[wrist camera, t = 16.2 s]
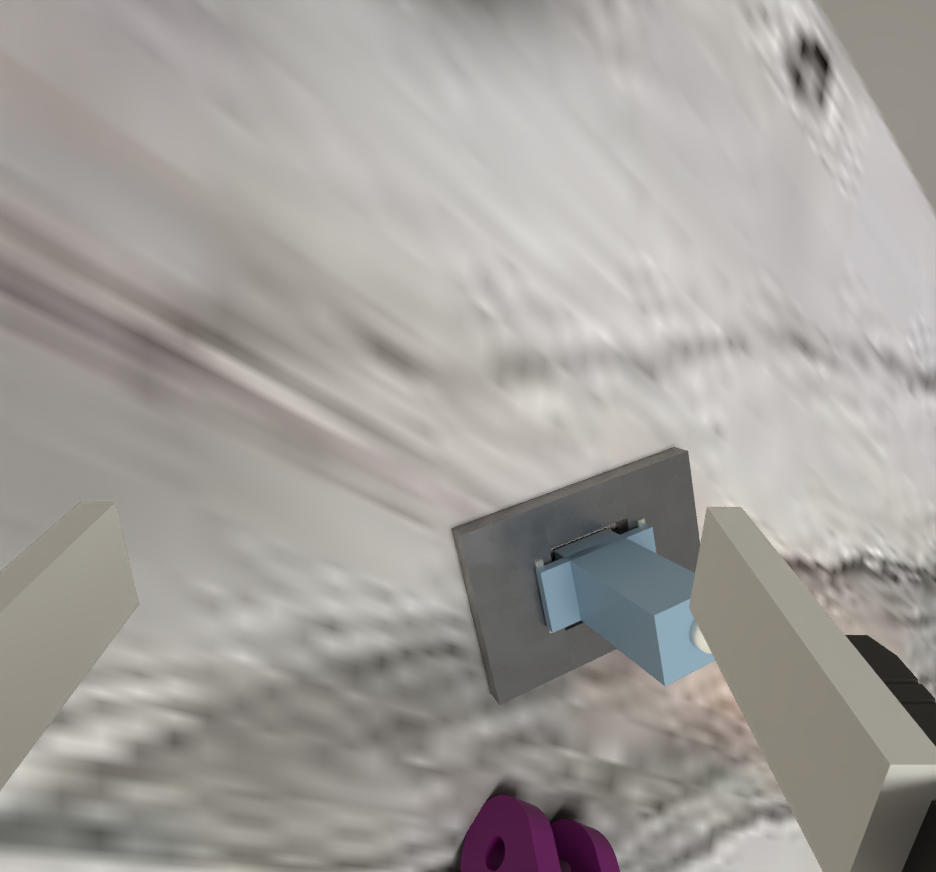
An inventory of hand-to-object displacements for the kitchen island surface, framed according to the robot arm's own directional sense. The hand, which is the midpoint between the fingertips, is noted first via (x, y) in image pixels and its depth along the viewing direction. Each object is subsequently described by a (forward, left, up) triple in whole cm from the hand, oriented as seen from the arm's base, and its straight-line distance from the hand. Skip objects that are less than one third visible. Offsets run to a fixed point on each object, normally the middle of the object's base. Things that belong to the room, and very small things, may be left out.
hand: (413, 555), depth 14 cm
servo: (-3, +26, -28) cm, 38 cm away
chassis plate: (-3, +26, -28) cm, 39 cm away
